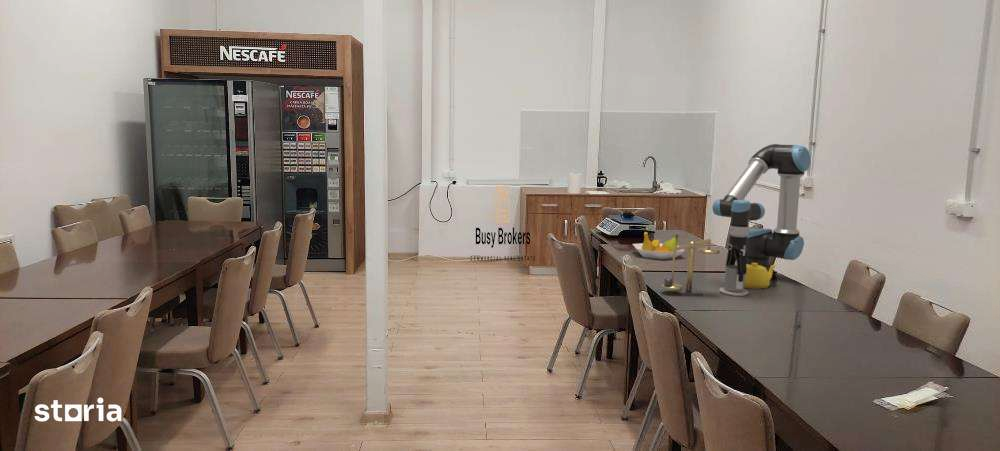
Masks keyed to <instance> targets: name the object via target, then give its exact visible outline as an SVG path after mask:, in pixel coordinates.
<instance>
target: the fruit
mask: <svg viewBox="0 0 1000 451" xmlns="http://www.w3.org/2000/svg"><path fill="white" fill-rule="evenodd" d="M679 236H680V235H679V234H676V235H675V237H671V238H670V239H669V240H666V241H664V242H663V243H661V242H660V239H655V240H652V241H651V240H650V238H649V232H647V231H644V233H643V237H644V238H643V242H642V243H632V246H633V247H634V248H635V250H637V252H638V253H639V254H640V256H642V257H643V258H646V259H655V260H660V261H661V260H670V259H672V260H673V248H675V247H679V246H680V245H679V240H678V239H679ZM685 250H686V249H682V250H678V251H675V259H677V258H678V257H679V256H680V255H681V254H683V253H684V252H685Z"/></svg>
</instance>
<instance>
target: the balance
mask: <svg viewBox="0 0 1000 451" xmlns="http://www.w3.org/2000/svg"><path fill="white" fill-rule="evenodd" d="M711 242H712V239H711V238H707V239H703V240H699V241H693V240H692V241H689V242H688V244H683V245H678V246H679V247H675V248H673V259H672V263H671V264H672V266H671V268H672V269H671V278H664V283H662V284H660V286H661V288H662V289H664V290H670V291H674V292H675V293H676V294H677V295H678V296H683V297H684V296H685V297H687V296H689V297H690V296H691V297H692V296H693V297H696V296H698V297H699V296H700V297H701V296H702V297H703V296H704V292H703V291H700V290H699V289H698V288H696V287H695V288H693V277H694V265H695V264H694V262H695V249H696V246H700V245H704V244H708V246H707V247H699V248H697V252H698V253H701V254H706V255H718V254H720V252H721V250H720V249H718V248H712V247H711ZM682 249H684V250H686V249H688V253H687V270H686V272H687V273H686V281H685V282H686V286H685V287H683V285H682V284H680V283H674V278H675V277H674V276H675V275H674V274H675V263H676V262H675V260H676V258H675V251H678V250H682Z"/></svg>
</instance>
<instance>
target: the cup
mask: <svg viewBox="0 0 1000 451" xmlns="http://www.w3.org/2000/svg"><path fill="white" fill-rule="evenodd" d="M736 273H738V269H737V264H735V265H727V266H726V265H725V270H724V284H723V286H724V289H725V290H728V291H734V292H741V291H744V289H745V287H744V285H745V274H744V275H743V287H742V289H736V278H737V274H736Z"/></svg>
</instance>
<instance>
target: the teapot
mask: <svg viewBox="0 0 1000 451" xmlns="http://www.w3.org/2000/svg"><path fill="white" fill-rule="evenodd" d="M751 264H752V265H748V264H746V267H747V273H746V274H745V285H744V289H751V290H752V289H756V290H758V289H761V288H764V289H767V288H768V287H769V286H770V284H771V283H770V281H771V279H772V277H773V272H774V269H775V267H777V266H778V264H772V265H771V267H770V269H769V271H767V269H766V268H765V267H763V266H760V265H758V263H751ZM761 290H762V289H761Z"/></svg>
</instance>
